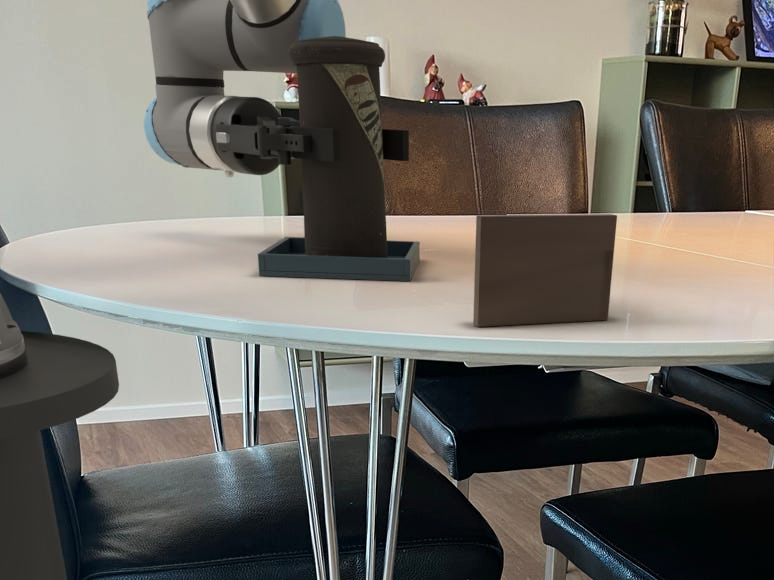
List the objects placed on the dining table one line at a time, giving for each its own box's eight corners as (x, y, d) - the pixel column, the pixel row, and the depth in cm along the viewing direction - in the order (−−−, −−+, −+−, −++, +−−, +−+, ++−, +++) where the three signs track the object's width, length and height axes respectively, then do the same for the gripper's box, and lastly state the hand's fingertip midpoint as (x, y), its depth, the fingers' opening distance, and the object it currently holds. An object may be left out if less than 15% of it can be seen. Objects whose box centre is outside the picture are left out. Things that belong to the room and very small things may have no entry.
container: (377, 268, 98) (370, 32, 89) (290, 265, 99) (275, 31, 90) (398, 259, 106) (394, 40, 97) (317, 256, 107) (305, 39, 98)
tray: (259, 275, 96) (257, 254, 96) (286, 256, 109) (285, 236, 108) (410, 281, 97) (410, 259, 96) (419, 260, 110) (419, 241, 109)
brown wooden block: (608, 320, 82) (617, 215, 78) (478, 327, 77) (481, 216, 74) (526, 290, 94) (530, 198, 90) (409, 295, 89) (409, 198, 86)
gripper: (318, 171, 117) (450, 186, 103) (158, 174, 104) (284, 191, 90) (315, 99, 113) (451, 104, 99) (149, 93, 100) (278, 97, 86)
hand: (372, 145), depth 95 cm, fingers closed on container, 8 cm apart
